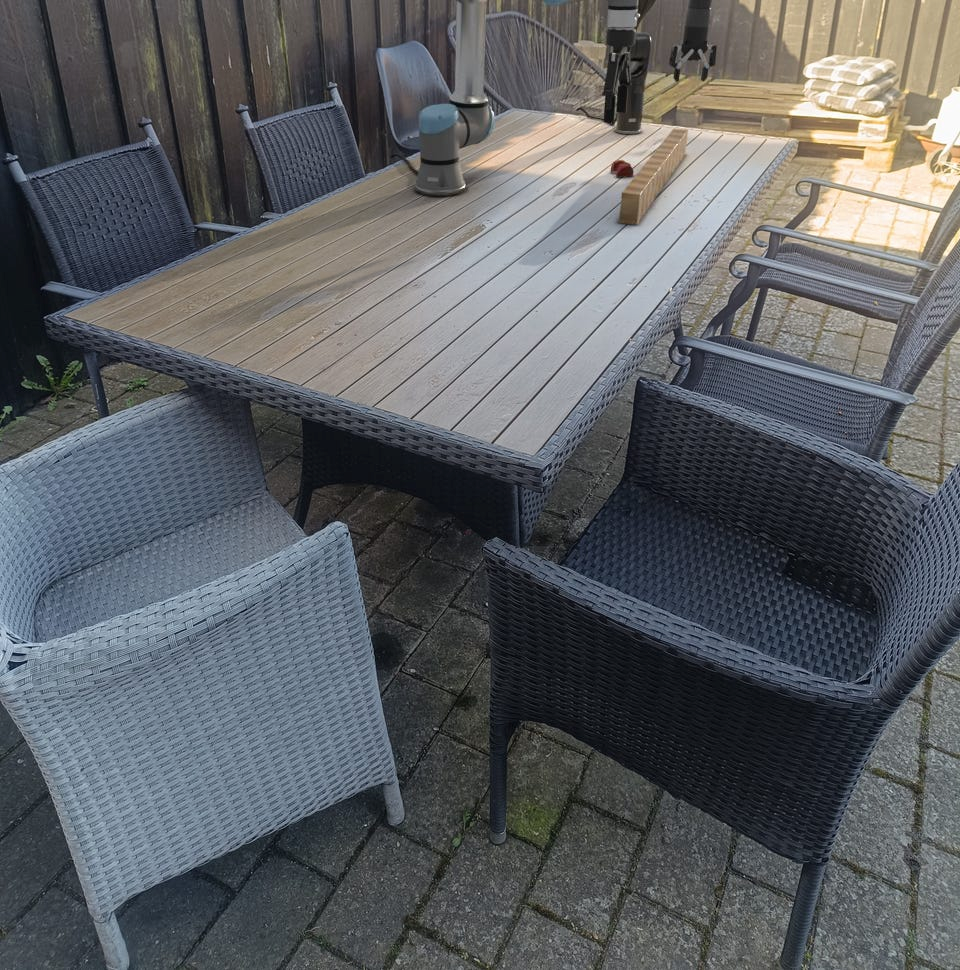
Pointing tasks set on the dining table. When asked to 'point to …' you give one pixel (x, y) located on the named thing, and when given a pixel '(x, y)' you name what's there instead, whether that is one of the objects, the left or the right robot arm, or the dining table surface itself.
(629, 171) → the dark red rounded lump
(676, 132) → the bar
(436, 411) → the dining table surface
